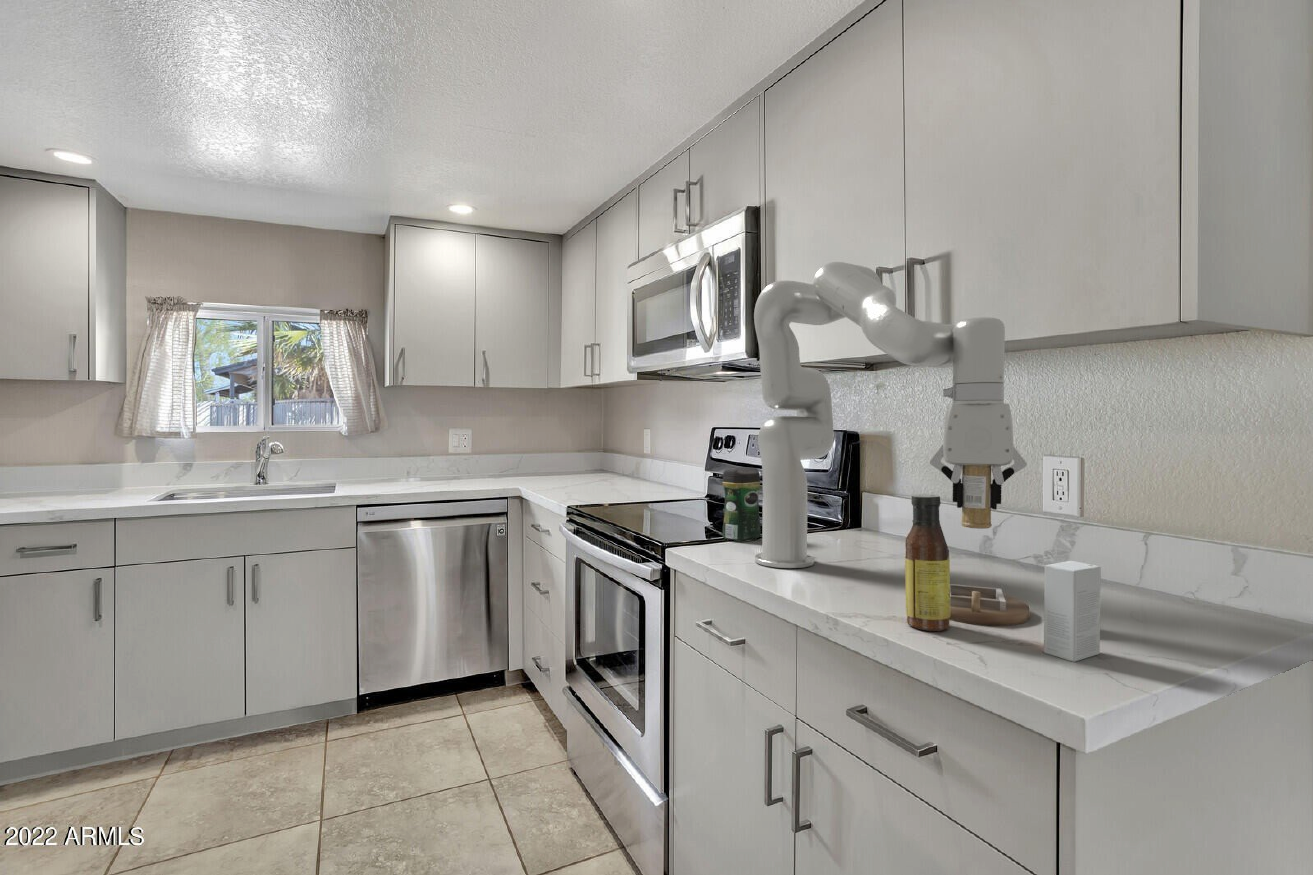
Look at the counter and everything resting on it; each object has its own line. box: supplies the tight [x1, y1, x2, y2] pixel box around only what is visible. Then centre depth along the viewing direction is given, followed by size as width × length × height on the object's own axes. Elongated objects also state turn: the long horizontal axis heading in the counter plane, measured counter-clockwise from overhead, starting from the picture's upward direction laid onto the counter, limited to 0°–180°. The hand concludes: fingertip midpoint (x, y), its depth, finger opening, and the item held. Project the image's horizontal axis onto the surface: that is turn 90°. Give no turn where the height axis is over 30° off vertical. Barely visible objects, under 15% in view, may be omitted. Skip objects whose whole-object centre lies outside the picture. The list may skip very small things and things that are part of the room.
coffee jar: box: [722, 466, 762, 542], centre depth 172 cm, size 10×8×19 cm
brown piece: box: [950, 583, 1031, 627], centre depth 109 cm, size 16×16×4 cm
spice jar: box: [960, 465, 992, 530], centre depth 109 cm, size 5×5×13 cm
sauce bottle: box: [904, 493, 951, 632], centre depth 101 cm, size 7×6×20 cm
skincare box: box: [1043, 560, 1102, 663], centre depth 89 cm, size 6×4×12 cm
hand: (976, 506), depth 109 cm, fingers closed on spice jar, 4 cm apart
